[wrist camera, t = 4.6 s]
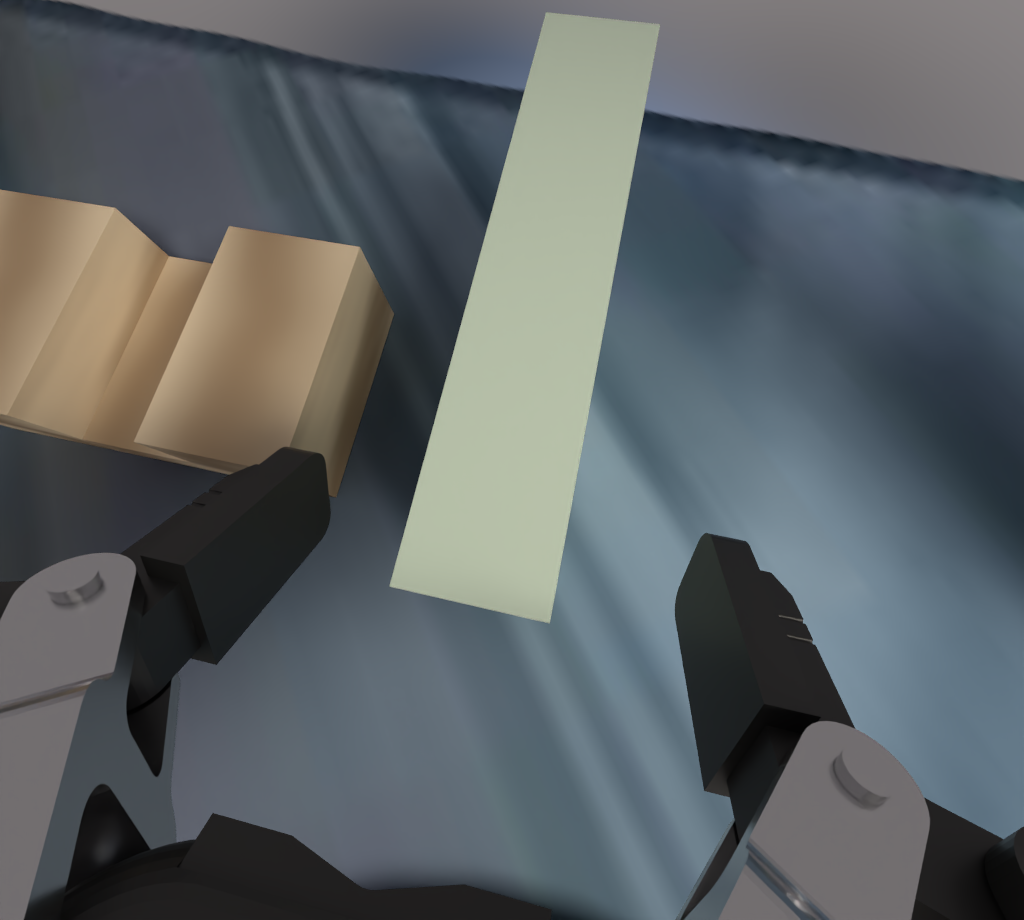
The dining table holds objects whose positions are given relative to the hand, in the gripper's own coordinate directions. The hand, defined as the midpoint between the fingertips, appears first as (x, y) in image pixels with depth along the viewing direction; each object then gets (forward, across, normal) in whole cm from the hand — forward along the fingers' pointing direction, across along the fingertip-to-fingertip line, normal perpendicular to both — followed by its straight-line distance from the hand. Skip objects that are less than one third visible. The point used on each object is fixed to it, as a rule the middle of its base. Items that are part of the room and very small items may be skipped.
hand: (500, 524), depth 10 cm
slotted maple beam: (+8, +14, +2) cm, 16 cm away
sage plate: (+8, 0, +2) cm, 8 cm away
